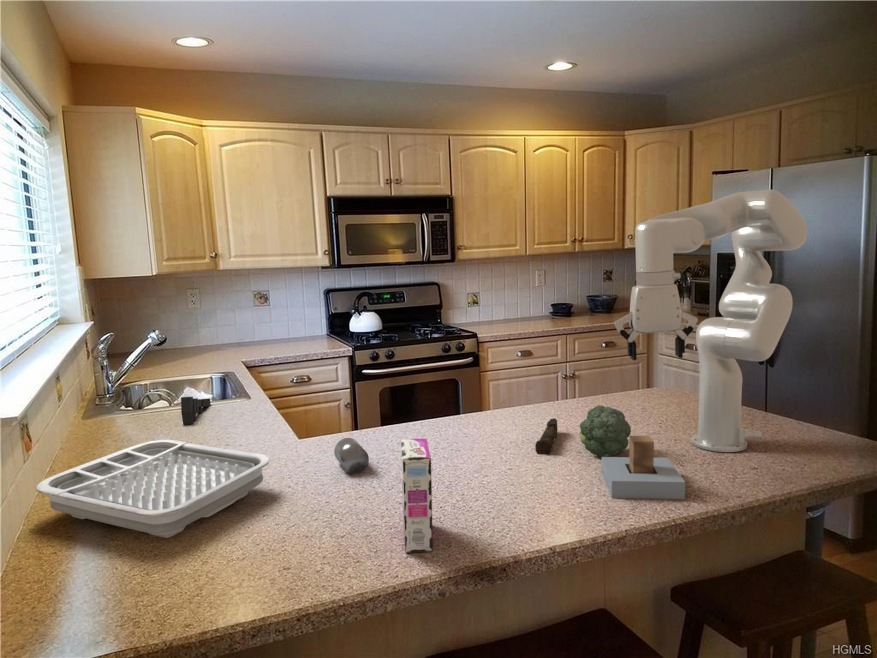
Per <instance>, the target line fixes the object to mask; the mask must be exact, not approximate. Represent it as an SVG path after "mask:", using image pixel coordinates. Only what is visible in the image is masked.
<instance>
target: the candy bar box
mask: <svg viewBox="0 0 877 658" xmlns="http://www.w3.org/2000/svg"><path fill="white" fill-rule="evenodd" d="M400 445H401V449H400V452H401V453H400V455H401V456H400V457H401V458H400V459H401V491H402V522H403V525H402V526H403V538H404V539H403V540H404V551H405V554H407V553H411V554H412V553H426V552H427V553H428V552H433V551H434V550H433V549H434V545H433V544H434V539H433V537H434V536H433V496H432V495H433V493H432V492H433V490H432V488H433V486H432V483H433V482H432V456H431V452H430V448H429V443H428V439H427V438H410V439H409V438H408V439H401V441H400Z"/></svg>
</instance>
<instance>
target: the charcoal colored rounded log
mask: <svg viewBox="0 0 877 658" xmlns="http://www.w3.org/2000/svg"><path fill="white" fill-rule="evenodd" d="M557 437H558V420H557V419H556V418H550V419H549V420H548V421H547V423H546V427H545V430H544V431H543V433H542V434H541V437H540V438H539V440H536V442H535V449H534V450H535V452H536V454H537V455H543V454H546V455H545V456H548V455H550V454H551V453H552V450H553V447H554V446H553V445H554V444H555V441H556V439H557ZM547 454H548V455H547Z"/></svg>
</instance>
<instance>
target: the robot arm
mask: <svg viewBox="0 0 877 658" xmlns="http://www.w3.org/2000/svg"><path fill="white" fill-rule="evenodd" d="M634 233H635V234H634V236H635V240H634V241H635V243H634V244H635V277H636V279H635V281H636V284H635V285H634V286H632V288H631V292H630V301H629V313H628V314H626V315H624V316H622V317H621V318H619V319H617V320H615V321H614V322H613V325H614V327H615V329H616V330H617V332H618V334H619V335H620V336H622V337H623V338H624V339H625V340H626V341H627V356H628V357H630V359H631V360H633V361H636V360H637V357H638V356H637V342H636V339H637V337H638V336H639V335H640V334H653V333H657V334H658V333H672V332H673V333H674V334H675V335H676V337H675V340H674V345H675V346H674V348H675V349H674V352H675V357H678V358H679V359H682V358H683V357H684V355H683V354H685V352H686V342H685V341H686V340H687V338H688V336H689V335H690V334H692V332H693V331H694V328H695V327H696V325H697V323H698V321H699V319H698V317H696V316H693V315H691V314H689V313H687V312H684V311H683V310H682V309H681V299H680V295H679V294H680V293H679V290H678V285H677V284H675V281H676V280H680V279H681V272H676V271H675V270H674V254H688V253H692V252H695V251H696V250H698V249H699V248H700V247H702V245H703V243H705V241H711V240H716V239H719V238H722V237H724V236H727V235H728V234H731V243H732V247H733V248H732V249H733V251H734V257H735V269H734V270H733V274H732V275H731V277H730V279H729V281H728V283H727V285H726V287H725V288H724V291H723V292H722V295H721V297H720V300H719V303H718V310H719V313H720V314H721V316H718V317H717V316H715V317H714V316H713V317H708V318H706V319H704V320H703V321H701V322H700V323H699V324H698V326H697V328H696V332H695V341H696V342H695V343H696V348H697V352H698V353H697V354H698V361H699V362H698V364H699V365H698V366H699V376H698V377H699V378H698V379H699V380H698V381H699V382H698V383H699V384H698V412H697V413H698V419H697V420H698V423H697V433H696V434H695V433H694V434H693V435H691V438H690V442H691V444H692V445H693V446H695V447H696V448H699V449H702V450H706V451H712V452H718V453H735V452H736V453H737V452H741V451H745V450H746V449H747V448H748V441H749V439H753V440H762V439H763V434H762V431H761V430H753V429H751V428H750V429H748V428H747V429H745V428H743V427H742V425H741V424H742V423H741V421H742V396H743V394H742V392H743V391H742V390H743V374H742V370H741V368H740V366H739V363H738V362H737V360H742V361H750V362H764V361H766V360H768V359H769V358H770V357H771V356H772V354H773V353H774V352H775V350H776V348H777V346H778V343H779V341H780V339H781V337H782V335H783V332H784V330H785V328H786V326H787V324H788V322H789V320H790V317H791V314H792V311H793V306H794V305H793V303H794V302H793V296H792V293H791V291H790V289H788V288H787V287H786V286H785V285H783V284H779V283H770V282H771V279H772V277H773V271H772V269H771V266H770V265H769V263H768V261H767V260H766V259H765V258H764V257H763V255H762V254H763V253H762V252H773V251H775V252H777V251H779V252H780V251H794V250H797V249H800V247H802V246H803V245H804V244H805V242H806V240H807V237H808V226H807V223H806V221H805V218H804V217H803V216H802V214H801V213H800V212H799V211H798V210H797V208H796V207H795V205H794V204H793V203H792V202H791V201H790V200H789V199H788V198H787V197H786V196H785V195H784V194H782V193H781V192H780V191H777V190H775V189H763V190H761V189H760V190H750V191H749V190H748V191H741V192H740V191H739V192H735V193H731V194H728V195H726V196H722V197H720V198H717V199H714V200H712V201H709V202H707V203H702V204H698V205H693V206H690V207H686V208H684V209H680V210H675V211H671V212H667V213H663V214H659V215H657V216H655V217H652V218H649V219H647V220H646V221H642V222H640V223H637V224H636V226H635V231H634ZM682 319H684V320H686V321H687V322H688V323H687V325H686V326H684V328H682V322H683V321H682ZM627 323H629V328H630V330H629V332H627V331H626V330H625V328H624V325H625V324H627ZM681 328H682V329H681ZM736 359H737V360H736Z"/></svg>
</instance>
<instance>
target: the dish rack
mask: <svg viewBox="0 0 877 658" xmlns="http://www.w3.org/2000/svg"><path fill="white" fill-rule="evenodd" d="M270 462H271V459H270V458H269V457H268V455H265V454H262V453H257V452H250V451H249V452H248V451H242V450H237V449H230V448H229V449H228V448H221V447H217V446H216V447H215V446H208V445H202V444H196V443H189V442H188V441H182V440H181V441H180V440H176V439H175V440H174V439H158V440H150V441H147V442H146V441H145V442H142V443H138V444H136V445H133V446H130V447H127V448H124V449H121V450H119V451H116V452H113V453H110V454H108V455H105V456H102V457H99V458H96V459H94V460H91V461H89V462H86V463H83V464H81V465H77V466H75V467H72V468H69V469H67V470H63V471H62V472H59V473H57V474H55V475H51V476H50V477H46V478H45V479H43V480H42V481H40V482H39V483H38V484H37V485H36V489H35V490H36V491H37V493H39V494H43V495H46V496H49V497H48V498H49V502H50V504H49V505H50V507H51V509H53V510H54V511H57V512H60V513H65V514H68V515H70V516H71V517H73V518H76V519H80V520H85V519H88V520H92V521H95V522H98V523H99V522H100V523H104V524H109V525H112V526H116V527H121V528H124V529H129V530H133V531H134V530H135V531H138V532H142V533H143V532H144V533H147V534H149V535H150V536H151V535H152V536H155V537H159V538H164V539H165V538H172V537H173V536H175V535H177V534H179V533H181V532H183V531H184V529H185V528H186V526H188V525H190V524H192V523H193V522H195V521H197V520H199V519H201V518H208V517H211V516H212V515H214V514H216V513H217V512H219V511H221V510H223V509H225V508H227V507H228V506H230V505H232V504H234V503H235V502H236V501H238V500H240V499H242V498H244V497H246V496H247V495H248V494H249V491H252V490H253V489H254V488H255V487H257V486H260V485H261V484H262V483H263V481H264V476H263V475H264V474H263V468H265V467H266V466H268V464H270Z"/></svg>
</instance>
